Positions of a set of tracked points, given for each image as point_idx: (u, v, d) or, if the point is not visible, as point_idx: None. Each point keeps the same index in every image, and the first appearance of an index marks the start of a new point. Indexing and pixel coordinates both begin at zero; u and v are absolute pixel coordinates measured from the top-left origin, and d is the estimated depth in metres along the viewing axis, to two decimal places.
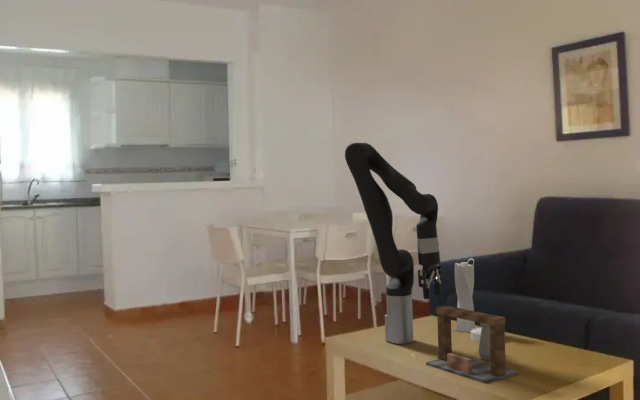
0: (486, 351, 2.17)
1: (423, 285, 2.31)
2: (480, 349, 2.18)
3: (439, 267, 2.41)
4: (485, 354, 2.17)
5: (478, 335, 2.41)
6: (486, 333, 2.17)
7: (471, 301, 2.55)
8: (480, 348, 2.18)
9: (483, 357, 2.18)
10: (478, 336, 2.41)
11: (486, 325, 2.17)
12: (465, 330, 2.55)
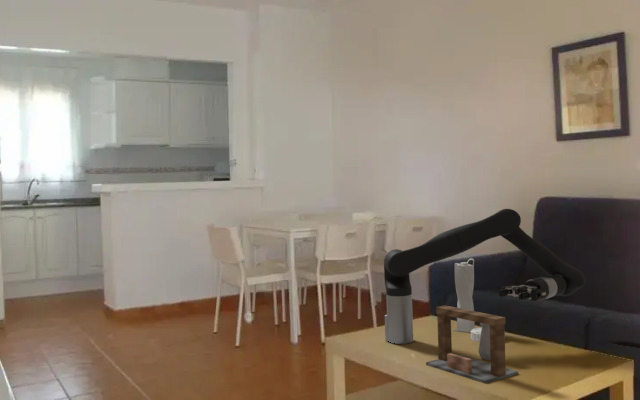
0: (486, 351, 2.17)
1: (536, 297, 2.22)
2: (480, 349, 2.18)
3: (514, 291, 2.35)
4: (485, 354, 2.17)
5: (478, 335, 2.41)
6: (486, 333, 2.17)
7: (471, 301, 2.55)
8: (480, 348, 2.18)
9: (483, 357, 2.18)
10: (478, 336, 2.41)
11: (486, 325, 2.17)
12: (465, 330, 2.55)
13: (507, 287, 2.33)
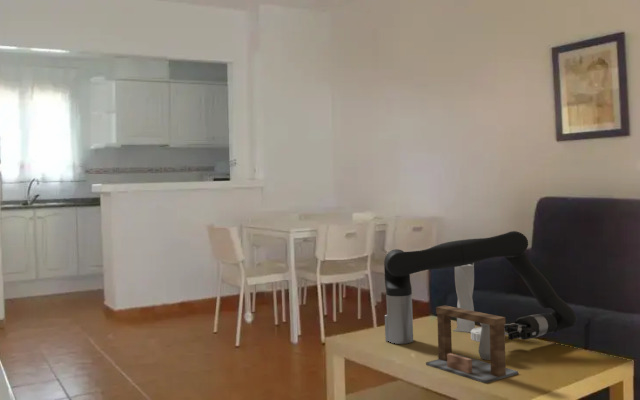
0: (486, 351, 2.17)
1: (526, 337, 2.20)
2: (480, 349, 2.18)
3: (505, 329, 2.33)
4: (485, 354, 2.17)
5: (478, 335, 2.41)
6: (486, 333, 2.17)
7: (471, 301, 2.55)
8: (480, 348, 2.18)
9: (483, 357, 2.18)
10: (478, 336, 2.41)
11: (486, 325, 2.17)
12: (465, 330, 2.55)
13: None
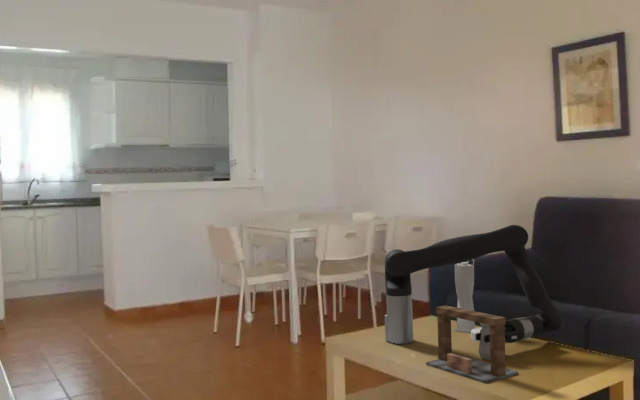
0: (486, 351, 2.17)
1: None
2: (480, 349, 2.18)
3: None
4: (485, 354, 2.17)
5: None
6: (486, 333, 2.17)
7: (471, 301, 2.55)
8: (480, 348, 2.18)
9: (483, 357, 2.18)
10: None
11: (486, 325, 2.17)
12: (465, 330, 2.55)
13: None
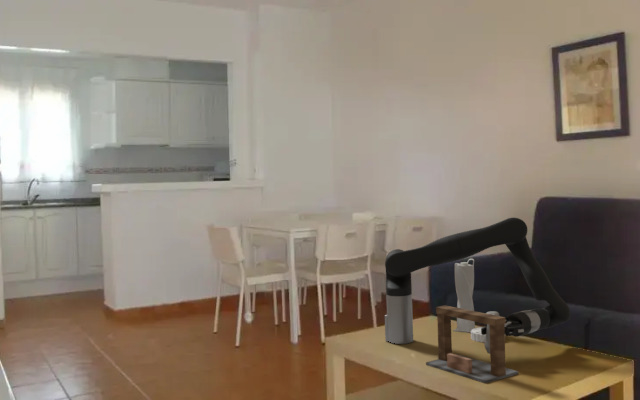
0: None
1: (508, 333, 2.11)
2: (486, 343, 2.12)
3: None
4: None
5: (478, 335, 2.41)
6: None
7: (471, 301, 2.55)
8: (486, 342, 2.12)
9: (489, 351, 2.12)
10: (478, 336, 2.41)
11: None
12: (465, 330, 2.55)
13: None
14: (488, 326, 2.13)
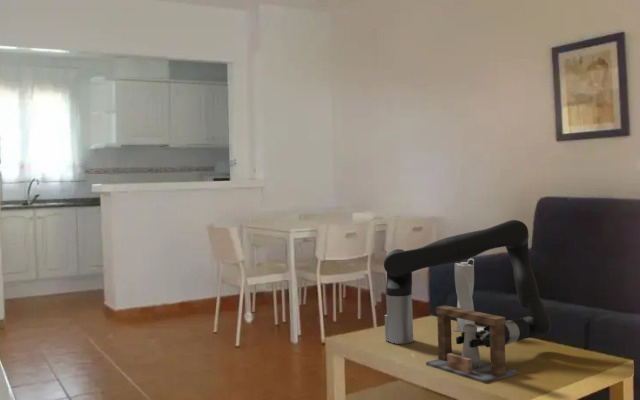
0: None
1: (489, 344, 2.04)
2: None
3: None
4: None
5: None
6: (469, 340, 2.06)
7: (471, 301, 2.55)
8: (463, 356, 2.07)
9: None
10: None
11: (469, 332, 2.06)
12: None
13: None
14: (465, 339, 2.07)
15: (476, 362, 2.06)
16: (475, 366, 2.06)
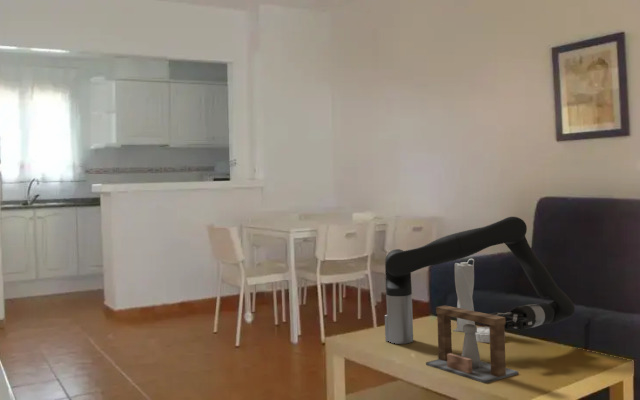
0: None
1: (522, 326, 2.11)
2: None
3: None
4: None
5: (478, 335, 2.40)
6: (469, 341, 2.06)
7: (471, 301, 2.55)
8: (463, 356, 2.07)
9: None
10: (478, 336, 2.41)
11: (469, 332, 2.06)
12: None
13: (492, 314, 2.23)
14: (465, 339, 2.07)
15: (476, 362, 2.06)
16: (475, 366, 2.06)
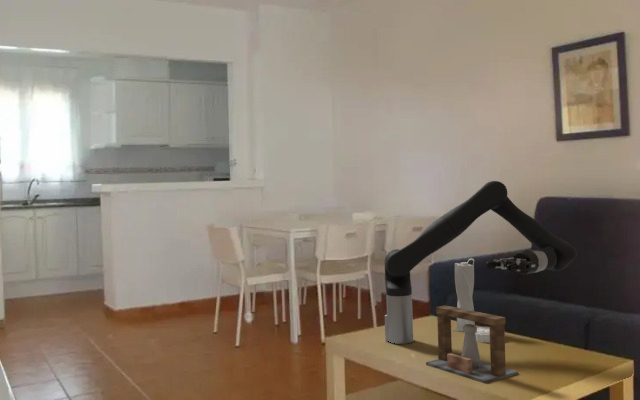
0: None
1: (525, 269, 2.13)
2: None
3: (503, 264, 2.26)
4: None
5: (478, 335, 2.40)
6: (469, 341, 2.06)
7: (471, 301, 2.55)
8: (463, 356, 2.07)
9: None
10: (478, 336, 2.41)
11: (469, 332, 2.06)
12: None
13: (495, 260, 2.24)
14: (465, 339, 2.07)
15: (476, 362, 2.06)
16: (475, 366, 2.06)
